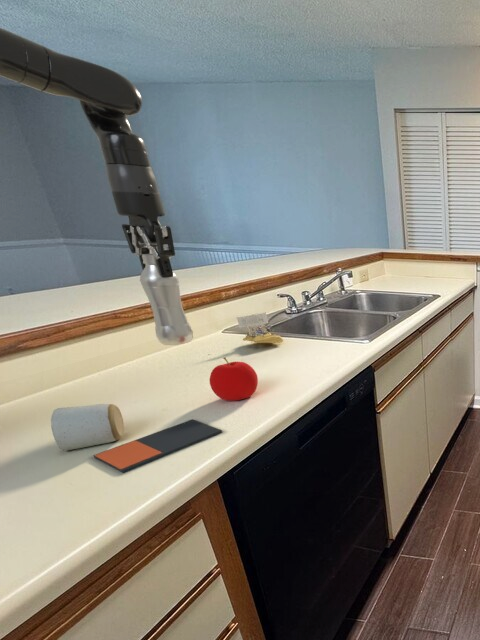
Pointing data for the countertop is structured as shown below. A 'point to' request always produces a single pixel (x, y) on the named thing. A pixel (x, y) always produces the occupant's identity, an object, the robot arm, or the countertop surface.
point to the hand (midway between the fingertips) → (158, 275)
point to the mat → (156, 445)
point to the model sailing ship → (259, 336)
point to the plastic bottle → (165, 304)
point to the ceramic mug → (86, 425)
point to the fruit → (233, 381)
